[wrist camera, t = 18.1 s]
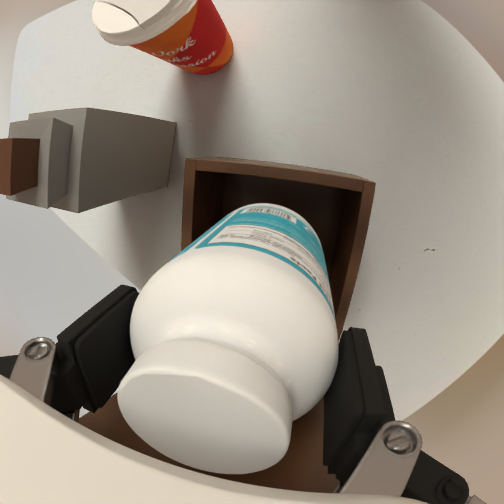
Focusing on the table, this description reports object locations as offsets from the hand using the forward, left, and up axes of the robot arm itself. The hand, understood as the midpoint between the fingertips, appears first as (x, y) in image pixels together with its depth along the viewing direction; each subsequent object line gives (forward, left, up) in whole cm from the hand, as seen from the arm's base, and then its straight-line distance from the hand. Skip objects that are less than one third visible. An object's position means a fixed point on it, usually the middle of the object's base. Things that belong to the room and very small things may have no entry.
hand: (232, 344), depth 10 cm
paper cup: (-17, -9, -19) cm, 27 cm away
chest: (+2, 0, -19) cm, 19 cm away
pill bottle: (0, 0, -10) cm, 10 cm away
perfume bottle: (-6, -15, -19) cm, 25 cm away
